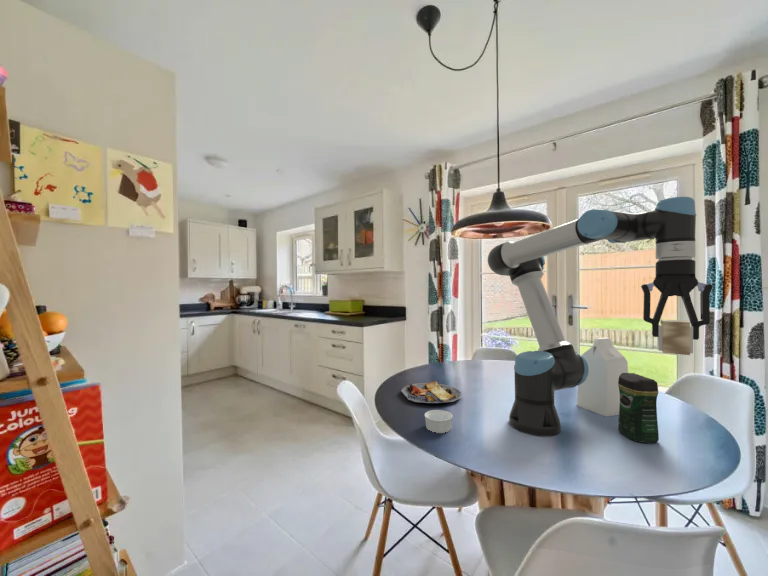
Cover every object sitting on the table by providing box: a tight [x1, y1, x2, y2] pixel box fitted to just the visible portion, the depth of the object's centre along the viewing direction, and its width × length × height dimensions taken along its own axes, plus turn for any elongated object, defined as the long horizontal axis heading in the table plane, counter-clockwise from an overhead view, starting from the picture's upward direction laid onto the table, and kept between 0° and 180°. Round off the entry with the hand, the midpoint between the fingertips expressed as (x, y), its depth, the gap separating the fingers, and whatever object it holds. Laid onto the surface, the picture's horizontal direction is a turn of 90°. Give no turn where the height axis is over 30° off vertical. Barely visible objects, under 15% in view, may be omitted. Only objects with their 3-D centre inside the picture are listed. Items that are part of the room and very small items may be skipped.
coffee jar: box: [617, 372, 660, 444], centre depth 97 cm, size 10×8×19 cm
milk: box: [576, 337, 629, 417], centre depth 119 cm, size 12×12×26 cm
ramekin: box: [424, 409, 453, 434], centre depth 104 cm, size 9×9×4 cm
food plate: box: [400, 380, 462, 404], centre depth 134 cm, size 25×23×4 cm
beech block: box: [660, 319, 691, 356], centre depth 82 cm, size 5×5×8 cm
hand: (674, 350), depth 82 cm, fingers closed on beech block, 5 cm apart
